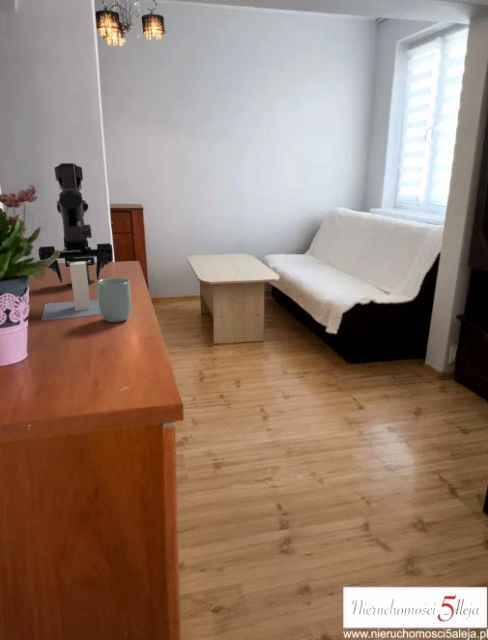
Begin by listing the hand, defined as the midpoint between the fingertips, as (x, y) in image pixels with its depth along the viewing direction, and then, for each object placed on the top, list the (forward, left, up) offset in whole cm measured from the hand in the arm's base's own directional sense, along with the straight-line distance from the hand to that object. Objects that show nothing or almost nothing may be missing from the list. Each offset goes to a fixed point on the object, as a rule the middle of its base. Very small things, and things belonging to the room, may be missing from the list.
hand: (79, 280), depth 121 cm
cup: (+7, +13, -8) cm, 17 cm away
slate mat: (-1, -1, -8) cm, 8 cm away
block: (-1, -1, -8) cm, 8 cm away
